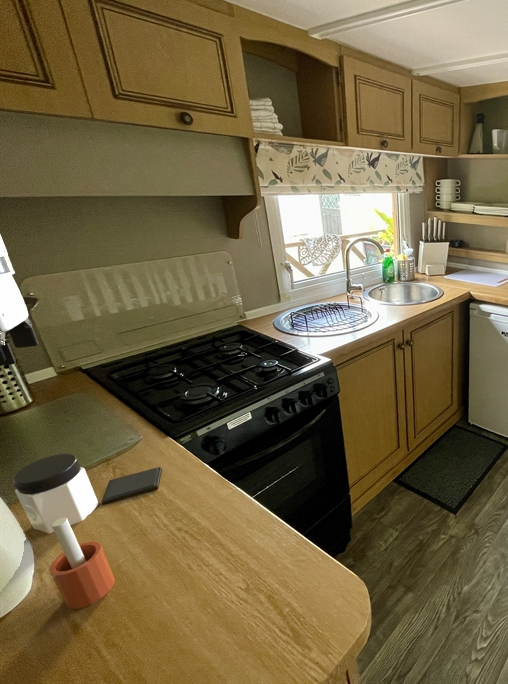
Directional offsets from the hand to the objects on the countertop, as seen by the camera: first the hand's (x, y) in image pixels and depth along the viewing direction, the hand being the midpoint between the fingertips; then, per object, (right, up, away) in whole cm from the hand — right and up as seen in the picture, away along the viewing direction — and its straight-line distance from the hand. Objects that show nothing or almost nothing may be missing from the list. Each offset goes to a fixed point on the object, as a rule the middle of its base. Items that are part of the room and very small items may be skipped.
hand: (16, 355), depth 72 cm
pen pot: (+27, -38, -12) cm, 48 cm away
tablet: (+15, -29, +9) cm, 34 cm away
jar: (+9, -32, +1) cm, 33 cm away
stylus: (+27, -37, -12) cm, 48 cm away
